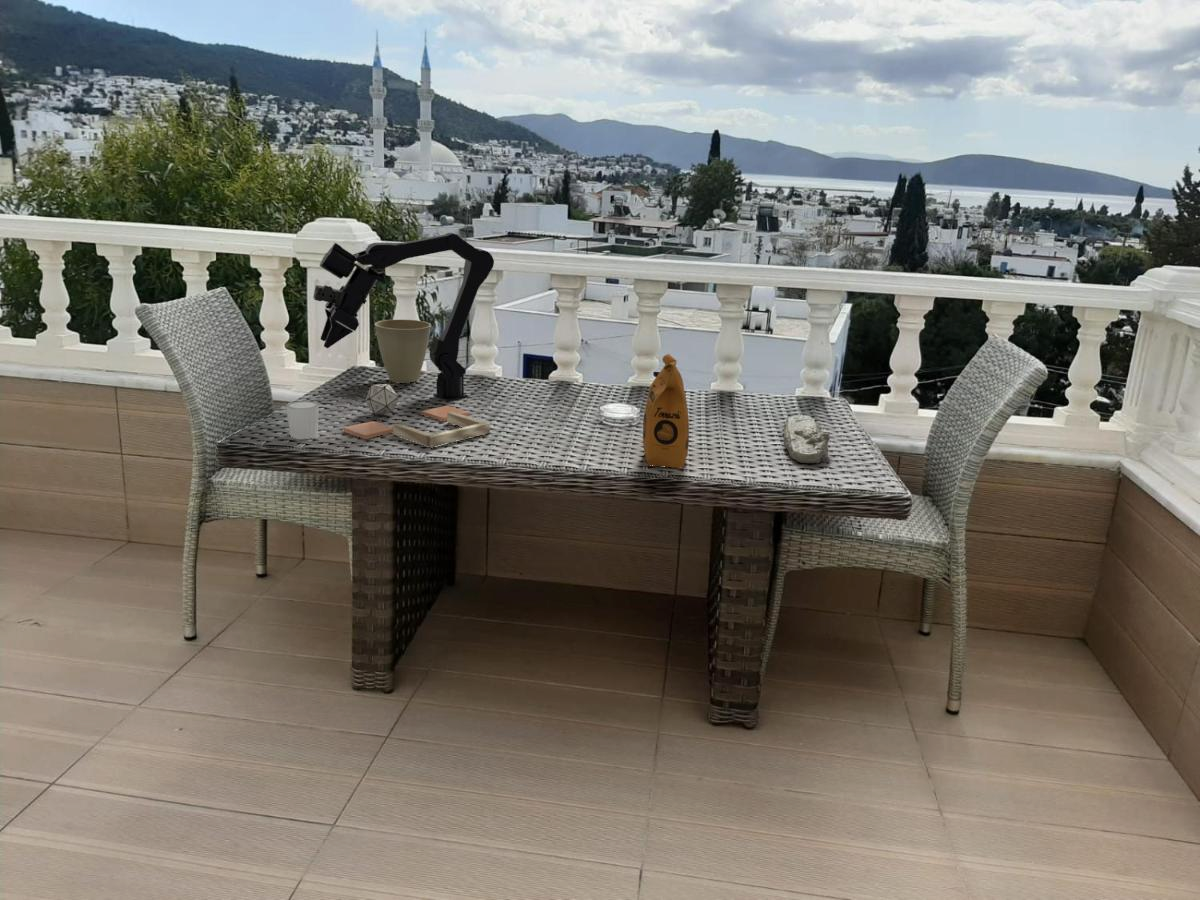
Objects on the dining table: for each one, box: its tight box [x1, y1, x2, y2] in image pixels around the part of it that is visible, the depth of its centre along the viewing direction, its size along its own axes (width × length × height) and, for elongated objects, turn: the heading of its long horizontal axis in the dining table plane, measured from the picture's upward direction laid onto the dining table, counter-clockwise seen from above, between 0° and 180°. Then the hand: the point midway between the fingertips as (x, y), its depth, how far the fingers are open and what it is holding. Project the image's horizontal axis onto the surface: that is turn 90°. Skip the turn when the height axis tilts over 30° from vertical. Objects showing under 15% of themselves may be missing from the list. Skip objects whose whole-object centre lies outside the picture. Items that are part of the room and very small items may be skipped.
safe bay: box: [392, 412, 491, 447], centre depth 201 cm, size 17×13×2 cm
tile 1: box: [342, 421, 394, 440], centre depth 201 cm, size 8×8×1 cm
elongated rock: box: [782, 414, 831, 464], centre depth 208 cm, size 35×5×10 cm
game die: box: [361, 380, 403, 418], centre depth 214 cm, size 9×8×10 cm
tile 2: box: [420, 405, 470, 422], centre depth 217 cm, size 8×8×1 cm
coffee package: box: [642, 353, 690, 469], centre depth 188 cm, size 10×12×22 cm
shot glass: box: [285, 400, 320, 440], centre depth 195 cm, size 7×7×7 cm
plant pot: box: [374, 319, 432, 384], centre depth 247 cm, size 15×15×16 cm
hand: (323, 343), depth 219 cm, fingers open, 9 cm apart
